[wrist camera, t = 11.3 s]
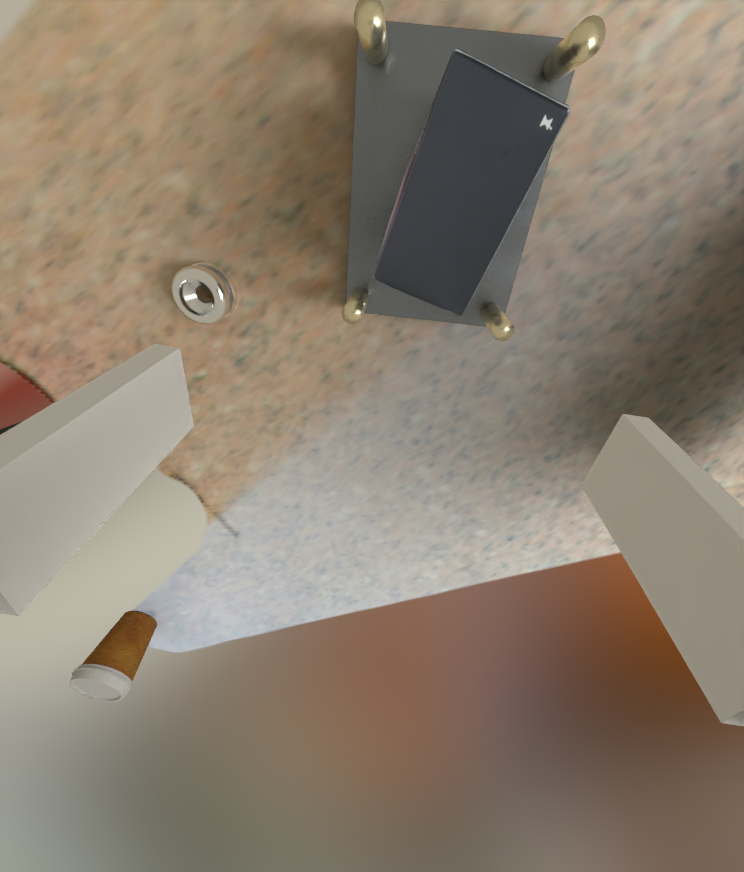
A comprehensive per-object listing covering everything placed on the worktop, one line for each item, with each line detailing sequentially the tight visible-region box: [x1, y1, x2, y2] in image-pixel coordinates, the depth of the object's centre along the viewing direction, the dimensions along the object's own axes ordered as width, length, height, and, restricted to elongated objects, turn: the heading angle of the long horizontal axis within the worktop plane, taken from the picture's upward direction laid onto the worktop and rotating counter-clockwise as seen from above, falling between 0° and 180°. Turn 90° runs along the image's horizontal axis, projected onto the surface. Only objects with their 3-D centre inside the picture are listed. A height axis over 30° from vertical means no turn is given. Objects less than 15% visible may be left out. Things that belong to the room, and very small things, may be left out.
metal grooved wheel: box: [171, 262, 238, 325], centre depth 33 cm, size 5×3×5 cm
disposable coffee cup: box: [70, 611, 157, 702], centre depth 65 cm, size 10×10×12 cm
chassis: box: [342, 0, 605, 341], centre depth 26 cm, size 14×18×6 cm
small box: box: [373, 49, 570, 316], centre depth 23 cm, size 11×6×10 cm, turn 159°
